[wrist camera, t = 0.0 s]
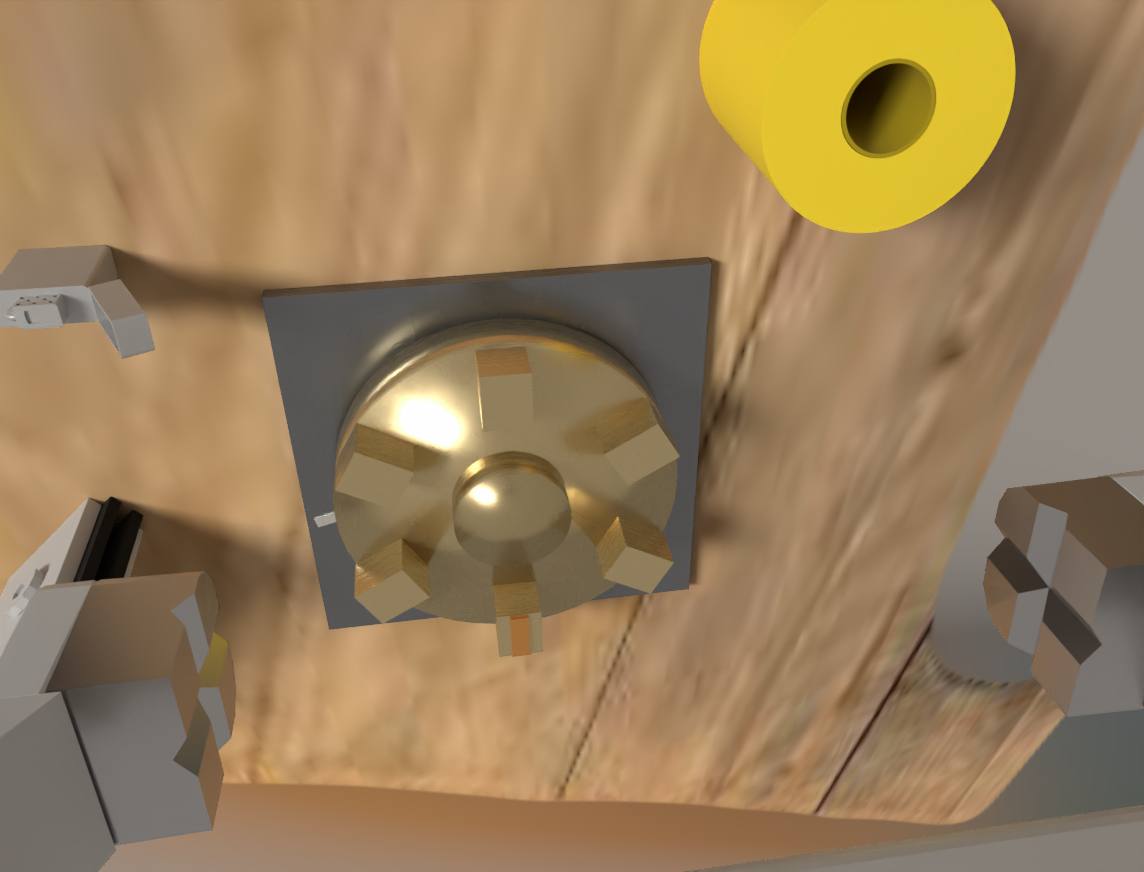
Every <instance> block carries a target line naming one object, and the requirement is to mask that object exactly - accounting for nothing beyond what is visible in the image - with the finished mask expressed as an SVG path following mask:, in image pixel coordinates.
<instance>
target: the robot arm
mask: <svg viewBox="0 0 1144 872" xmlns="http://www.w3.org/2000/svg"><path fill="white" fill-rule="evenodd" d="M995 524H996V525H997V527H998V528H999V530H1000V531H1001V533H1002V535H1003V536H1004V539H1003V540H1002V542H1001V543H1000V544H999V545H998V546H997V547H996V548H995V549H994V551H992V553H991V554H990V555H989V556H988V557H987V563H986V569H985V575H984V582H983V586H984V592H985V598H986V605H987V609H988V612H989V614H990V616H991V618H992V620H993V623H994V625H995V627H996V628H997V630H998V631H999V632H1000V633H1001V635H1002V636H1003V637H1004V639H1005V640H1006V641H1007V643H1009V644H1011V645H1013V646H1015V647H1017V648H1019V649H1021V650H1023V651H1025V652H1027V653H1030V654H1031V655H1033V659H1032V665H1031V671H1030V672H1031V673H1032V674H1033V675H1034V677H1035V678H1036V679H1037V681H1038V682H1039V683H1040V684H1041V685H1042V687H1043V688H1044V689H1045V690H1046V692H1047V693H1048V694H1049V695H1050V697H1051V698H1052V699H1053V700H1054V702H1055V703H1056V704H1057V705H1058V707H1059V708H1060V709H1061V710H1062V712H1063V713H1064V714H1065V715H1066V717H1069V716H1078V715H1088V714H1098V713H1107V712H1117V711H1127V710H1136V709H1144V470H1140V471H1133V472H1126V473H1119V474H1113V475H1105V476H1099V477H1097V478H1089V479H1080V480H1073V481H1064V482H1056V483H1047V484H1040V485H1031V486H1023V487H1014V488H1008V489H1007V490H1006V492H1005V493H1004V495H1003V497H1002V498H1001V500H1000V501H999V505H998V509H997V514H996V518H995ZM219 607H220V606H219V602H218V599H217V595H216V592H215V588H214V584H213V581H212V578H211V577H210V576H209V575H208V574H207V572H206V571H198V572H186V573H174V574H162V575H150V576H139V577H127V578H115V579H103V580H99V581H94V580H90V581H81V582H72V583H63V584H54V585H45V586H43V587H41V588H40V589H38V590H36V591H35V592H34V593H33V594H32V596H31V598H30V600H29V602H28V604H27V606H26V608H25V610H24V612H23V614H22V616H21V618H20V619H19V621H18V623H17V625H16V627H15V629H14V631H13V633H12V635H11V637H10V639H9V641H8V643H7V644H6V646H5V648H4V650H3V652H2V654H1V656H0V872H98V871H99V870H100V869H101V868H102V866H103V865H104V864H105V863H106V862H107V861H108V859H109V858H110V857H111V856H112V855H113V854H114V852H115V851H116V848H115V846H116V845H122V844H128V843H134V842H141V841H147V840H153V839H159V838H165V837H171V836H178V835H184V834H190V833H197V832H203V831H209V830H213V825H214V820H215V816H216V811H217V805H218V801H219V796H220V791H221V786H222V781H223V776H224V772H223V768H222V764H221V760H220V756H219V752H218V750H219V749H220V748H221V747H222V746H224V745H225V744H226V743H227V742H228V741H229V740H230V739H231V736H232V730H233V724H234V719H235V695H236V685H235V676H234V668H233V661H232V657H231V652H230V648H229V643H228V642H227V641H226V640H224V639H223V638H222V637H221V636H219V635H218V634H217V633H215V632H214V628H215V623H216V619H217V615H218V611H219ZM685 872H1144V805H1141V806H1135V807H1128V808H1121V809H1114V810H1107V811H1099V812H1093V813H1085V814H1079V815H1071V816H1064V817H1057V818H1050V819H1044V820H1037V821H1030V822H1023V823H1016V824H1009V825H1002V826H995V827H988V828H981V829H974V830H967V831H960V832H953V833H946V834H939V835H932V836H925V837H918V838H911V839H904V840H897V841H890V842H884V843H877V844H870V845H863V846H856V847H849V848H842V849H835V850H829V851H822V852H815V853H808V854H801V855H794V856H788V857H781V858H774V859H767V860H761V861H753V862H746V863H740V864H733V865H726V866H719V867H712V868H705V869H699V870H692V871H685Z"/></svg>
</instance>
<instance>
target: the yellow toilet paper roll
mask: <svg viewBox="0 0 1144 872" xmlns="http://www.w3.org/2000/svg"><path fill="white" fill-rule="evenodd" d="M700 76H701V82H702V87H703V90H704V94H705V97H706V99H707V102H708V104H709V106H710V108H711V110H712V112H713V114H714V116H715V117H716V119H717V120H718V121H719V123H720V124H721V125H722V126H723V128H724V129H725V130H726V131H727V132H728V133H729V135H730V136H731V137H732V138H733V139H734V140H735V142H736V143H737V144H738V145H739V146H740V147H741V149H742V150H743V151H744V152H745V153H746V154H747V156H748V157H749V158H750V159H751V160H752V162H753V163H754V164H755V165H756V166H757V167H758V169H759V170H760V171H761V172H762V173H763V174H764V176H765V177H766V178H767V179H768V180H769V181H770V183H771V184H772V185H773V186H774V187H775V188H776V190H777V191H778V192H779V193H780V194H781V195H782V197H783V198H784V199H785V200H786V201H787V202H788V203H789V205H790V206H791V207H793V208H794V209H795V210H796V211H797V212H798V213H800V214H801V215H802V216H804V217H805V218H807V219H809V220H810V221H812V222H814V223H816V224H818V225H821V226H823V227H826V228H829V229H833V230H837V231H842V232H850V233H871V232H879V231H885V230H889V229H893V228H897V227H900V226H903V225H906V224H908V223H911V222H913V221H915V220H918V219H920V218H922V217H924V216H925V215H927V214H929V213H931V212H932V211H934V210H936V209H937V208H939V207H940V206H942V205H943V204H944V203H946V202H947V201H948V200H950V199H951V198H952V197H953V196H954V195H956V194H957V193H958V192H959V191H960V190H961V189H962V188H963V187H964V186H965V185H966V184H967V183H968V182H969V181H970V180H971V179H972V178H973V177H974V176H975V174H976V173H977V172H978V171H979V169H980V168H981V167H982V166H983V164H984V163H985V161H986V160H987V158H988V157H989V155H990V154H991V152H992V150H993V149H994V147H995V145H996V143H997V141H998V140H999V137H1000V135H1001V133H1002V131H1003V129H1004V126H1005V124H1006V121H1007V118H1008V115H1009V112H1010V108H1011V104H1012V100H1013V94H1014V87H1015V55H1014V49H1013V44H1012V40H1011V36H1010V33H1009V30H1008V28H1007V26H1006V23H1005V21H1004V19H1003V17H1002V16H1001V14H1000V12H999V11H998V9H997V8H996V6H995V5H994V4H993V2H992V1H991V0H714V2H713V4H712V7H711V9H710V11H709V14H708V16H707V19H706V22H705V26H704V29H703V34H702V39H701V45H700Z"/></svg>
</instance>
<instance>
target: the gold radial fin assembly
mask: <svg viewBox="0 0 1144 872" xmlns="http://www.w3.org/2000/svg"><path fill="white" fill-rule="evenodd" d="M679 457H680V455H679V452H678V450H677V448H676V445H675V443H674V440H673V438H672V435H671V433H670V430H669V428H668V427H667V425H666V424H665V422H664V420H663V417H662V415H661V412H660V410H659V407H658V405H657V402H656V400H655V398H654V396H653V394H652V392H651V390H650V389H649V387H648V385H647V383H646V382H645V380H644V379H643V378H642V377H641V375H640V374H639V373H638V372H637V370H636V369H635V368H634V367H633V366H632V365H631V364H630V363H629V362H628V361H627V360H626V359H625V358H624V357H623V356H622V355H620V354H619V353H618V352H616V351H615V350H613V349H612V348H611V347H609V346H608V345H606V344H605V343H603V342H601V341H600V340H598V339H596V338H594V337H592V336H590V335H588V334H586V333H584V332H581V331H578V330H575V329H572V328H570V327H567V326H564V325H560V324H555V323H551V322H546V321H541V320H531V319H521V318H509V319H490V320H483V321H476V322H470V323H466V324H462V325H458V326H454V327H451V328H447V329H445V330H442V331H440V332H437V333H435V334H432V335H429V336H427V337H425V338H423V339H421V340H419V341H418V342H416V343H414V344H412V345H410V346H408V347H406V348H405V349H404V350H402V351H401V352H399V353H398V354H397V355H395V356H394V357H392V358H391V359H390V360H388V361H387V362H386V363H385V364H384V365H383V366H382V367H381V368H379V369H378V370H377V371H376V372H375V373H374V374H373V375H372V376H371V377H370V379H369V380H368V381H367V382H366V383H365V385H364V386H363V387H362V388H361V390H360V391H359V392H358V394H357V395H356V397H355V399H354V400H353V402H352V404H351V405H350V407H349V409H348V411H347V414H346V416H345V418H344V421H343V423H342V426H341V429H340V433H339V438H338V442H337V448H336V462H335V476H334V490H333V503H334V513H335V519H336V522H337V526H338V530H339V533H340V535H341V538H342V540H343V542H344V544H345V546H346V549H347V550H348V552H349V553H350V555H351V557H352V558H353V560H354V561H355V563H356V564H357V565H356V567H355V593H354V598H355V599H357V600H358V601H359V602H360V603H361V604H362V605H363V606H364V607H365V608H366V609H367V610H368V611H369V612H370V613H371V614H373V615H374V616H375V617H376V618H377V619H378V620H379V621H380V622H381V623H382V624H383V623H385V622H387V621H389V620H391V619H392V618H394V617H396V616H398V615H399V614H401V613H403V612H405V611H407V610H408V609H410V608H412V607H413V608H415V609H418V610H421V611H423V612H426V613H429V614H432V615H435V616H439V617H443V618H447V619H451V620H456V621H464V622H471V623H491V624H496V631H497V639H498V647H499V656H500V657H502V656H510V655H512V656H513V657H514V656H522V655H531V653H536V652H543V644H542V619H541V618H543V617H546V616H550V615H554V614H558V613H560V612H563V611H566V610H569V609H571V608H574V607H577V606H579V605H581V604H583V603H585V602H587V601H589V600H591V599H593V598H595V597H597V596H598V595H600V594H602V593H603V592H605V591H607V590H608V589H610V588H611V587H613V586H614V585H615V584H617V583H619V584H623V585H626V586H629V587H632V588H635V589H638V590H641V591H644V592H647V593H650V594H651V593H652V591H653V590H654V589H655V587H656V586H657V585H658V583H659V582H660V581H661V579H662V578H663V577H664V575H665V574H666V573H667V571H668V570H669V568H670V567H671V566H672V564H673V563H674V561H673V558H672V555H671V552H670V549H669V546H668V544H667V541H666V538H665V535H664V533H663V530H664V528H665V526H666V523H667V521H668V519H669V517H670V514H671V510H672V507H673V504H674V500H675V495H676V487H677V462H676V459H677V458H679Z"/></svg>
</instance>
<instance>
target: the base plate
mask: <svg viewBox="0 0 1144 872" xmlns="http://www.w3.org/2000/svg"><path fill="white" fill-rule="evenodd" d="M711 267H712V263H711V262H710V260H709V259H708V257H704V258H690V259H677V260H664V261H650V262H637V263H624V264H610V265H597V266H584V267H570V268H557V269H544V270H531V271H517V272H504V273H491V274H477V275H464V276H451V277H437V278H424V279H411V280H397V281H384V282H371V283H357V284H344V285H331V286H317V287H304V288H291V289H277V290H264V291H263V295H262V301H263V306H264V311H265V316H266V321H267V326H268V331H269V336H270V340H271V345H272V350H273V355H274V360H275V365H276V370H277V375H278V380H279V385H280V390H281V394H282V399H283V404H284V409H285V414H286V419H287V424H288V429H289V434H290V439H291V444H292V449H293V453H294V458H295V463H296V468H297V473H298V478H299V483H300V488H301V493H302V498H303V503H304V508H305V512H306V517H307V522H308V527H309V532H310V537H311V542H312V547H313V552H314V557H315V562H316V567H317V571H318V576H319V581H320V586H321V591H322V596H323V601H324V606H325V611H326V616H327V621H328V626H329V629H338V628H347V627H356V626H365V625H374V624H382V623H381V622H380V621H379V620H378V619H377V618H376V617H375V616H374V615H373V614H371V613H370V612H369V611H368V610H367V609H366V608H365V607H364V606H363V605H362V604H361V603H360V602H359V601H358V600H357V599H355V598H354V593H355V567H356V565H357V564H356V563H355V561H354V560H353V558H352V557H351V555H350V553H349V552H348V550H347V549H346V546H345V544H344V542H343V540H342V538H341V535H340V533H339V530H338V526H337V522H336V519H335V513H334V503H333V490H334V476H335V462H336V448H337V442H338V438H339V433H340V429H341V426H342V423H343V421H344V418H345V416H346V414H347V411H348V409H349V407H350V405H351V404H352V402H353V400H354V399H355V397H356V395H357V394H358V392H359V391H360V390H361V388H362V387H363V386H364V385H365V383H366V382H367V381H368V380H369V379H370V377H371V376H372V375H373V374H374V373H375V372H376V371H377V370H378V369H379V368H381V367H382V366H383V365H384V364H385V363H386V362H387V361H388V360H390V359H391V358H392V357H394V356H395V355H397V354H398V353H399V352H401V351H402V350H404V349H405V348H406V347H408V346H410V345H412V344H414V343H416V342H418V341H419V340H421V339H423V338H425V337H427V336H429V335H432V334H435V333H437V332H440V331H442V330H445V329H447V328H451V327H454V326H458V325H462V324H466V323H470V322H476V321H483V320H490V319H509V318H521V319H531V320H541V321H546V322H551V323H555V324H560V325H564V326H567V327H570V328H572V329H575V330H578V331H581V332H584V333H586V334H588V335H590V336H592V337H594V338H596V339H598V340H600V341H601V342H603V343H605V344H606V345H608V346H609V347H611V348H612V349H613V350H615V351H616V352H618V353H619V354H620V355H622V356H623V357H624V358H625V359H626V360H627V361H628V362H629V363H630V364H631V365H632V366H633V367H634V368H635V369H636V370H637V372H638V373H639V374H640V375H641V377H642V378H643V379H644V380H645V382H646V383H647V385H648V387H649V389H650V390H651V392H652V394H653V396H654V398H655V400H656V402H657V405H658V407H659V410H660V412H661V415H662V417H663V420H664V422H665V424H666V425H667V427H668V428H669V430H670V433H671V435H672V438H673V440H674V443H675V445H676V448H677V450H678V452H679V455H680V457H679V458H677V459H676V462H677V487H676V495H675V500H674V504H673V507H672V510H671V514H670V517H669V519H668V521H667V523H666V526H665V528H664V530H663V533H664V535H665V538H666V541H667V544H668V546H669V549H670V552H671V555H672V558H673V561H674V563H673V564H672V566H671V567H670V568H669V570H668V571H667V573H666V574H665V575H664V577H663V578H662V579H661V581H660V582H659V583H658V585H657V586H656V587H655V589H654V590H653V591H652V593H658V592H666V591H675V590H684V589H689V578H690V564H691V550H692V536H693V522H694V507H695V493H696V479H697V465H698V451H699V437H700V423H701V408H702V394H703V380H704V366H705V352H706V338H707V324H708V309H709V295H710V281H711ZM640 594H649V593H647V592H644V591H641V590H638V589H635V588H632V587H629V586H626V585H623V584H619V583H617V584H615V585H614V586H613V587H611V588H610V589H608V590H607V591H605V592H603V593H602V594H600V595H598V596H597V597H595V598H593V599H591V600H595V599H604V598H613V597H622V596H631V595H640ZM436 617H439V616H435V615H432V614H429V613H426V612H423V611H421V610H418V609H415V608H413V607H412V608H410V609H408V610H407V611H405V612H403V613H401V614H399V615H398V616H396V617H394V618H392V619H391V620H389V621H387V622H385V623H391V622H400V621H409V620H418V619H427V618H436Z"/></svg>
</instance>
